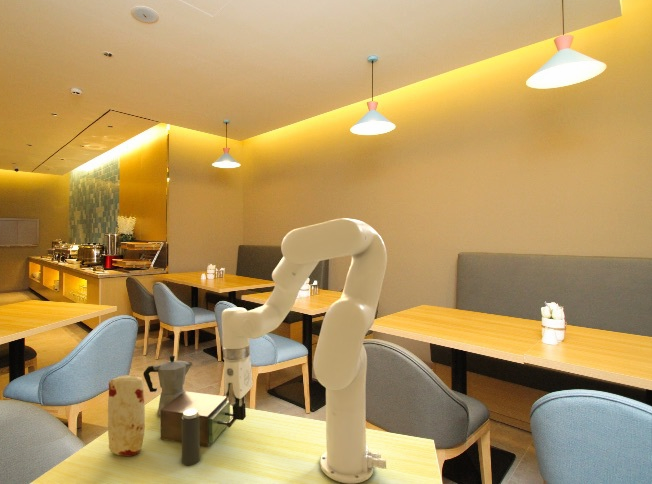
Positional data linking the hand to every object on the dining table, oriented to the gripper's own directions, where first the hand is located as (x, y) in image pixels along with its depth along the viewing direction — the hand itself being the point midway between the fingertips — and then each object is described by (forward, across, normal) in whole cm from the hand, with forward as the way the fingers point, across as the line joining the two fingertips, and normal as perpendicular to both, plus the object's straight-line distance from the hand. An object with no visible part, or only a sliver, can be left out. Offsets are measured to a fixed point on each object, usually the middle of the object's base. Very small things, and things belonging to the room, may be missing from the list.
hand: (239, 418), depth 99 cm
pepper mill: (+5, -13, +8) cm, 16 cm away
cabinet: (+5, 0, +14) cm, 15 cm away
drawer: (+4, 0, +10) cm, 11 cm away
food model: (+5, -14, +26) cm, 30 cm away
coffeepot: (+4, +8, +28) cm, 30 cm away
